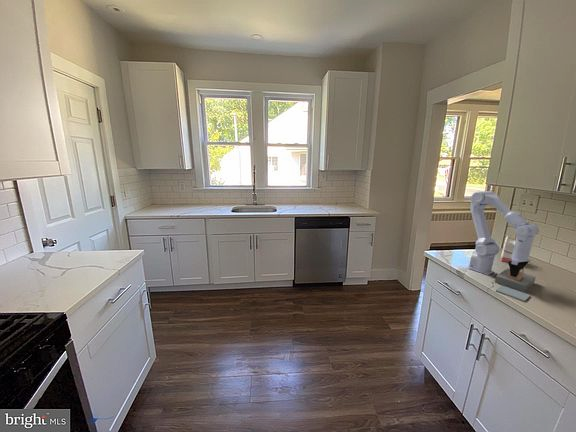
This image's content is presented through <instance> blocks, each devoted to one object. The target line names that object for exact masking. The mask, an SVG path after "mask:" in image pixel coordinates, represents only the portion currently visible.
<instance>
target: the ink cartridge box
mask: <svg viewBox="0 0 576 432" xmlns="http://www.w3.org/2000/svg"><path fill="white" fill-rule="evenodd" d="M508 239H509V237H508V235H506V237H505V240H504V243H503V247H502V251H501V255H500V260H501V262H505V263H508V261H512V258H511V256H512V254H513V250H514V246H515V242H516V240H508Z"/></svg>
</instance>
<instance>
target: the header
mask: <svg viewBox="0 0 576 432" xmlns="http://www.w3.org/2000/svg"><path fill="white" fill-rule="evenodd" d="M508 272H509V268H506V269H504V270H503V271H501V272H499V273H498V274H497V275H496V276H495V279H494V283H495V284H498V285H501V286H502V285H503V286H506V287H508V288H511V289H514V290H517V291H520V292H523V293H525V292H526V291H528V290H529V289H530V287H532V286H533V285H534V284H535V281H536V276H534V275H532V274H528V273H525V272H524V273H523V277H522V280H521V281H518V280H515V279H512V278H509V277H507V276H508Z"/></svg>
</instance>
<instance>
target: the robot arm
mask: <svg viewBox="0 0 576 432" xmlns="http://www.w3.org/2000/svg"><path fill="white" fill-rule="evenodd" d="M469 198H470V206H469V210H470V213H471V218H472V221H473V224H474V225H473V226H474V229H475V232H476V236H477V240H476V241H475V248H474V249H475V252H473V253H472V254H471V257H470V261H469V264H468V268H467V269H469V270H472V271H475V272H478V273H481V274H484V275H487V276H490V275H491V274H492V273H494V272H495V270H493V265H494V261H495V258H496V255H497V254H499V252H500V247H499V245H498V244H497V243H496V240H495V239H494V238H493V237H491V232H490V229H489V226H488V222H487V218H486V214H485V211H484V209H485V208H486V207H487V206H488V205H489V206H493V208H494V209H496V210H497V211H498V212H499V213H500V214H502V215H503V216H504V221H506V222H507V223H508V224H509V225H510V226H511V227H512V228H513V229H514V232H515V235H516V237H515V246H514V250H513V254H512V256H511V258H512V261H508V262H507V265H508V267H509V268H510V276H513V277H517V275H518V273H519V271H520V270H521V269H523V270H525V267H526V266H527V265H528V264H529V263H530V262H532V259H531V258H529V257H530V253H531V250H532V247H533V242H534V240H535V239H534V238H535V236H537V235H538V234H539V231H540V230H539V228H538V226H537V225H536V224H534V223H531V222H530V221H529V220H526V219H525V218H524V217H523V216H522V213H520V212H517V211H513V210H511V209H510V208H509V207H508V206H507V205H506V204H505V203H504V202H503V201H502V199H501V198H499V196H498V195H497V194H496V193H495V192H494V191H492V190H487V191H486V190H483V191H482V190H481V191H480V190H477V191H475V192H473V193H472V194H471V196H470V197H469Z"/></svg>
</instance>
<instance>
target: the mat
mask: <svg viewBox="0 0 576 432" xmlns="http://www.w3.org/2000/svg"><path fill="white" fill-rule="evenodd" d="M495 292H496V293H499V294H502V295H506V296H508V297H510V298H513V299H515V300H517V301H522V302H526V301H527V300H528V299H529V298H531V294H530V293H529V294H528V293H525V292H521V291H518V290H515V289H513V288H510V287H507V286H504V285H501V286H500V287H498V288H497V289H496V290H495Z"/></svg>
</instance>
